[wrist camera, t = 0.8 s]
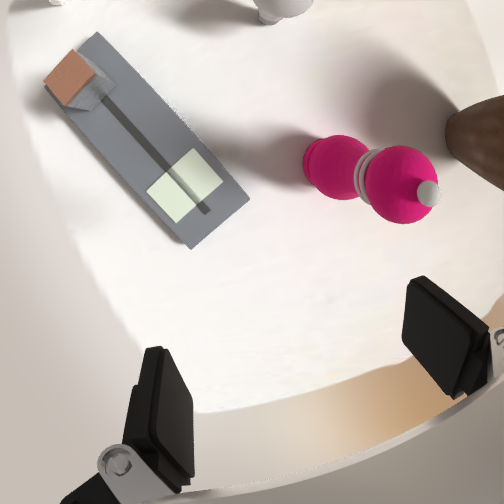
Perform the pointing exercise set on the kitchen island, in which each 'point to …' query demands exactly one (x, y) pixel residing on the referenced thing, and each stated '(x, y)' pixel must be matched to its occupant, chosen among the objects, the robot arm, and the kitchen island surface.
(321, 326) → the kitchen island surface
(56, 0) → the pepper shaker
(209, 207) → the fader panel
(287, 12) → the lightbulb
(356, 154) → the pepper mill
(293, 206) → the kitchen island surface
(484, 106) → the plant pot
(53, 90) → the fader knob
